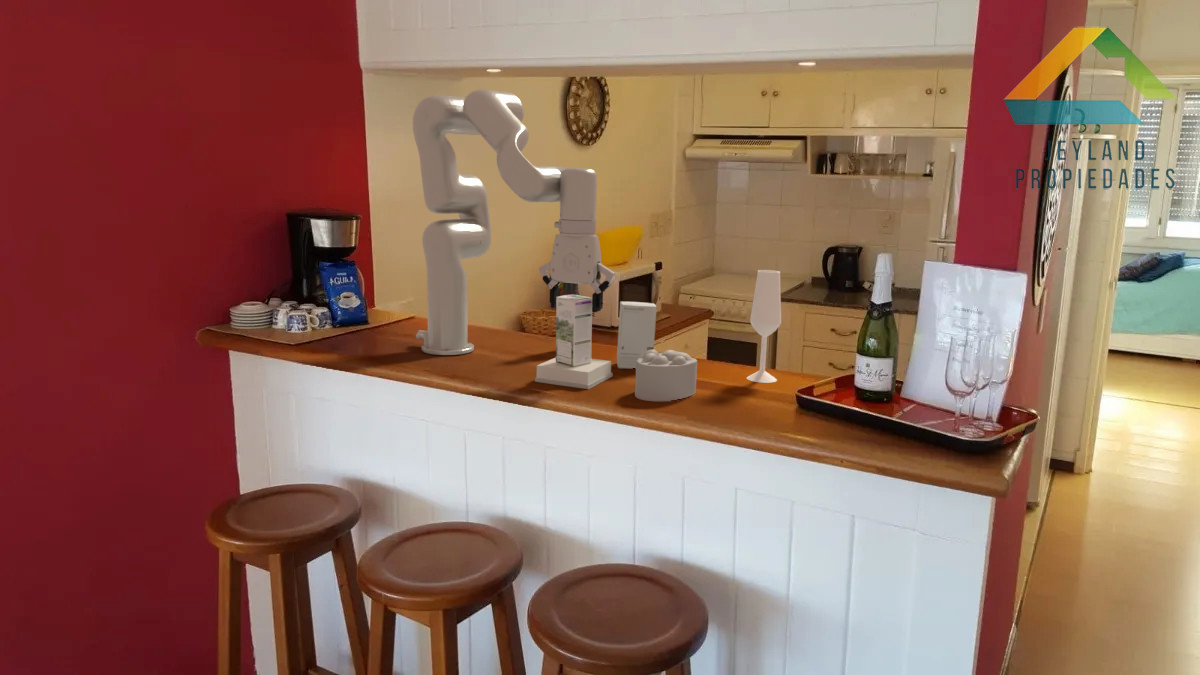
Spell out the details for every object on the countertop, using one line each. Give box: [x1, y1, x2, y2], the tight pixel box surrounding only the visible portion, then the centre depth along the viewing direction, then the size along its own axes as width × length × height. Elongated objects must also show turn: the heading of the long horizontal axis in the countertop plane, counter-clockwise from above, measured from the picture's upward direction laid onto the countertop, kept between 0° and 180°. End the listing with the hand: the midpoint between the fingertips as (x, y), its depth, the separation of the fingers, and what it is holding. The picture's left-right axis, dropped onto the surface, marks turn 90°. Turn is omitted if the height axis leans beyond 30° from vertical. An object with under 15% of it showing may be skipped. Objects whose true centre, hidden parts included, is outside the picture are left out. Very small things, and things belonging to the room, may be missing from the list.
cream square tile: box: [534, 357, 614, 390], centre depth 187 cm, size 13×13×4 cm
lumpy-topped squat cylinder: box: [634, 348, 698, 402], centre depth 176 cm, size 10×13×9 cm
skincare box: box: [616, 301, 657, 370], centre depth 199 cm, size 8×6×15 cm
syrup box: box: [555, 294, 593, 366], centre depth 185 cm, size 6×6×14 cm
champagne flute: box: [746, 269, 782, 384], centre depth 189 cm, size 7×7×24 cm
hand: (575, 309), depth 184 cm, fingers open, 9 cm apart
